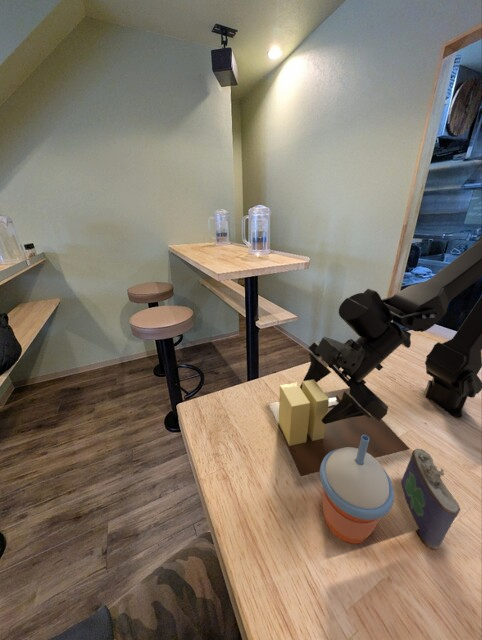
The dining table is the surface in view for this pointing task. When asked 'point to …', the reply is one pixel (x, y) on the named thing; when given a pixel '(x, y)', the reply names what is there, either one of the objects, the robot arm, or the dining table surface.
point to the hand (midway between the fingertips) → (311, 404)
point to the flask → (428, 499)
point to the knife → (336, 400)
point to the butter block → (293, 413)
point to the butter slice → (315, 408)
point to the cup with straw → (354, 492)
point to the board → (342, 438)
